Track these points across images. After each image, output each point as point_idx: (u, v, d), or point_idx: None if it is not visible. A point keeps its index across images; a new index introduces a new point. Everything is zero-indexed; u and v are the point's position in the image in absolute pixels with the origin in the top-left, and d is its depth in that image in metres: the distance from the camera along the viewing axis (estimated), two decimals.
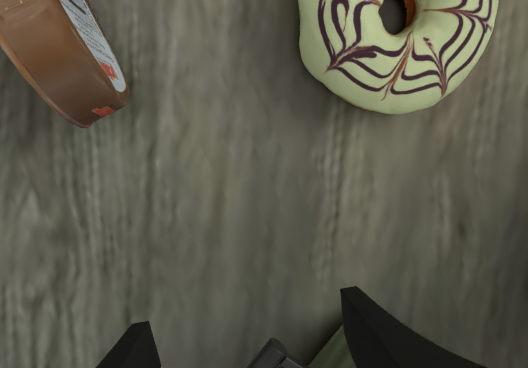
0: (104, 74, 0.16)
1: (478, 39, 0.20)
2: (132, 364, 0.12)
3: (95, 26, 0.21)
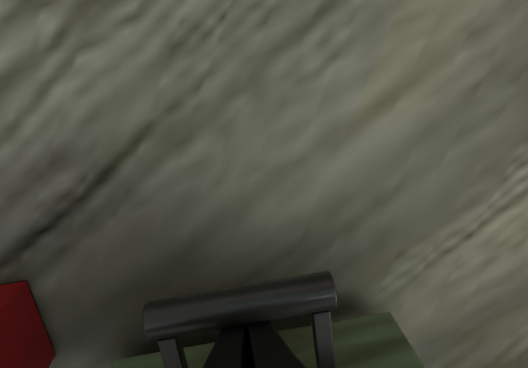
0: None
1: None
2: (244, 345, 0.12)
3: None
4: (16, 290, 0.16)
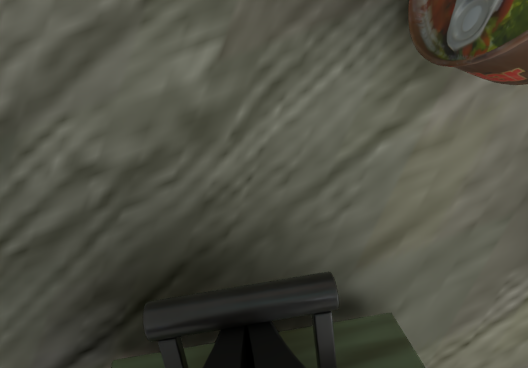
0: None
1: None
2: (245, 344, 0.12)
3: None
4: None
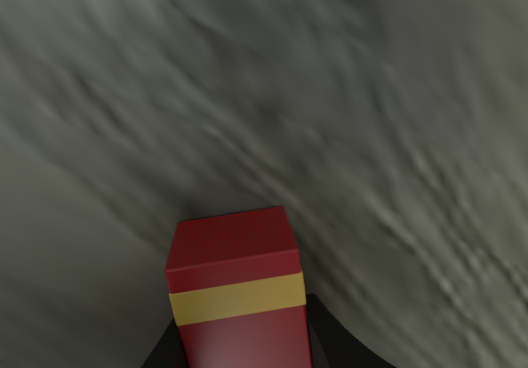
0: None
1: None
2: (181, 355, 0.12)
3: None
4: None
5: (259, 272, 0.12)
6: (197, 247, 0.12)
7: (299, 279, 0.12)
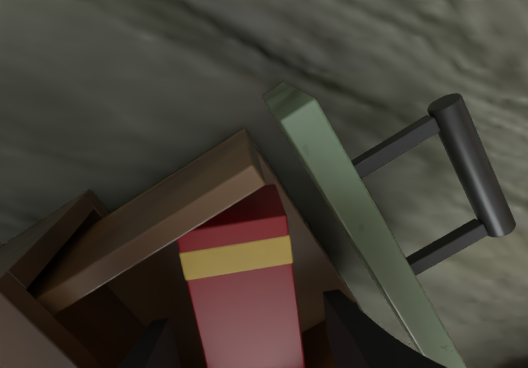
0: None
1: None
2: (155, 360, 0.12)
3: None
4: None
5: (254, 234, 0.14)
6: None
7: (287, 241, 0.14)
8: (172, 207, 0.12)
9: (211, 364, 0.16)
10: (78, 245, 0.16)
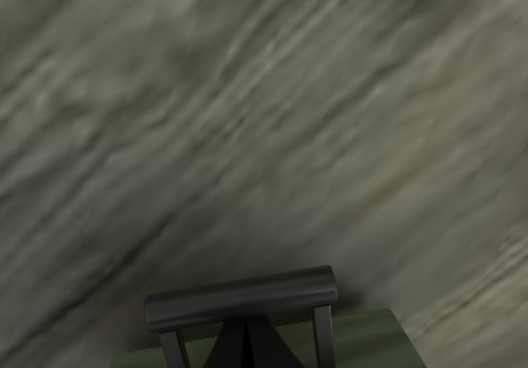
0: None
1: None
2: (245, 345, 0.12)
3: None
4: None
5: None
6: None
7: None
8: None
9: None
10: None
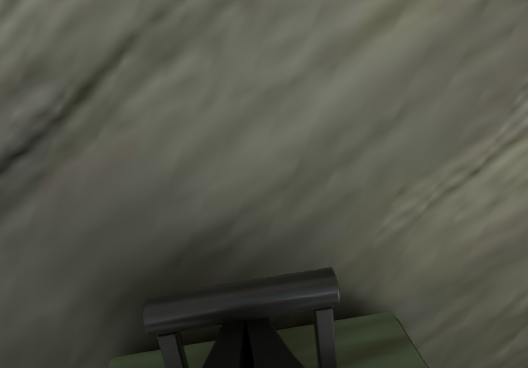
0: None
1: None
2: (244, 345, 0.12)
3: None
4: None
5: None
6: None
7: None
8: None
9: None
10: None
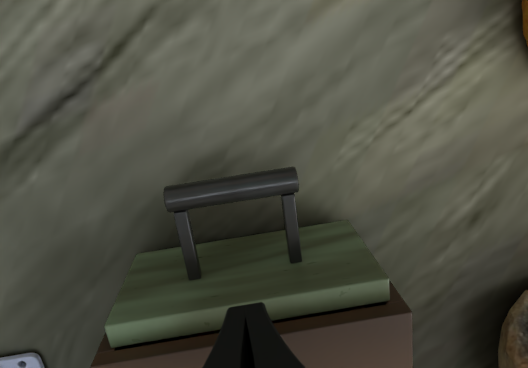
0: None
1: None
2: (245, 344, 0.12)
3: None
4: None
5: None
6: None
7: None
8: None
9: None
10: None
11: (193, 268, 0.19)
